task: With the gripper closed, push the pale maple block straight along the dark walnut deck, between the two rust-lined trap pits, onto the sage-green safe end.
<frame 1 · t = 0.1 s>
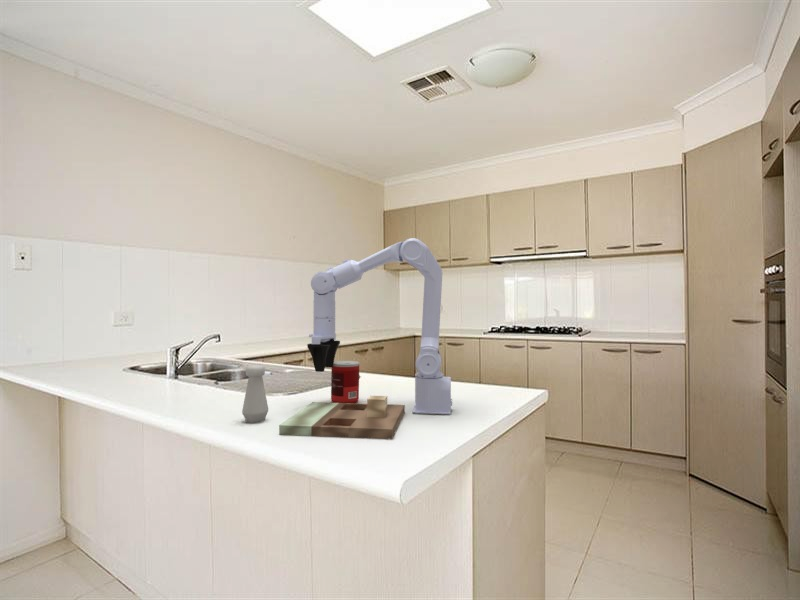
hand: (324, 369, 118), 10 cm above the table, fingers open, 7 cm apart
maple block: (377, 415, 103), point 2 cm above the table, touching trap deck
canned food: (344, 402, 125), on the table, touching gripper
trap deck: (347, 422, 103), on the table
salt shaker: (255, 421, 105), on the table
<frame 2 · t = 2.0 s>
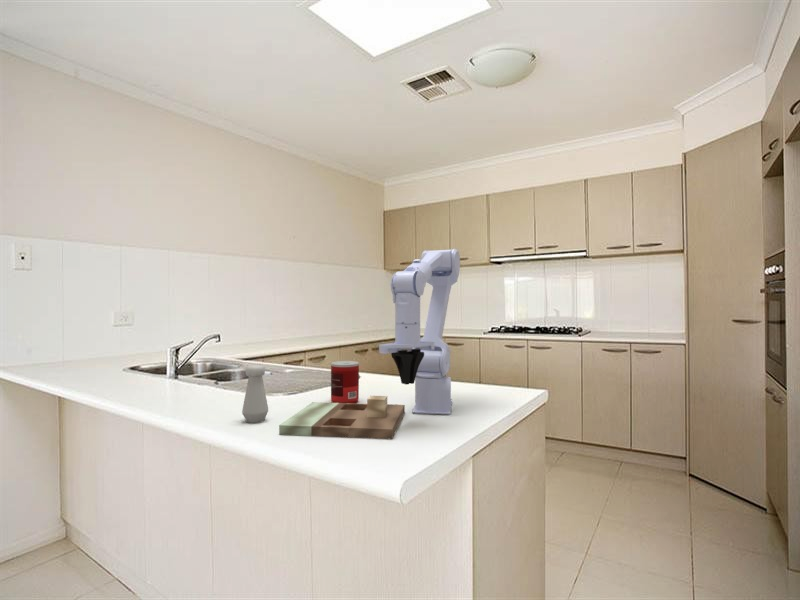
hand: (407, 383, 102), 9 cm above the table, fingers closed
canned food: (344, 402, 125), on the table
everything else where it was.
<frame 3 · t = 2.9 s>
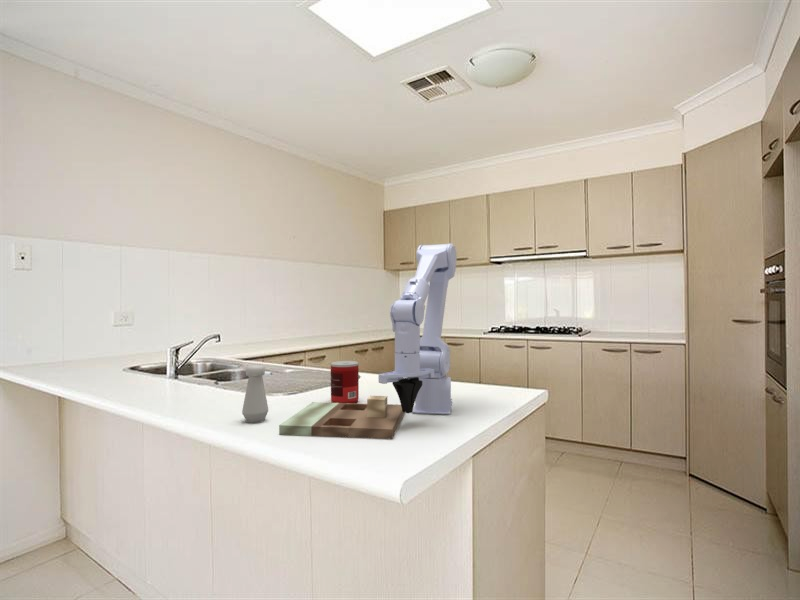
hand: (407, 412, 102), 3 cm above the table, fingers closed
nothing on the table moved.
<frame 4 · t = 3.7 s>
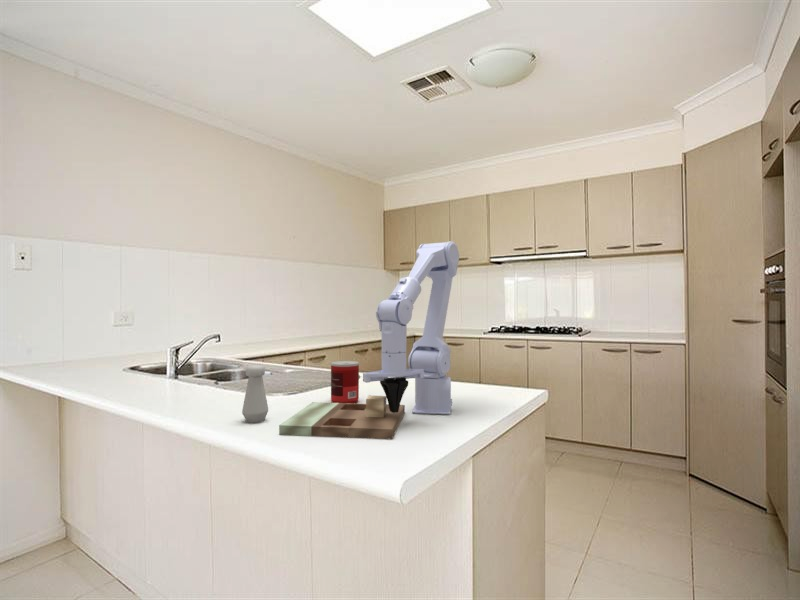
hand: (393, 411, 102), 3 cm above the table, fingers closed
maple block: (376, 414, 103), point 2 cm above the table, touching gripper
everything else where it was.
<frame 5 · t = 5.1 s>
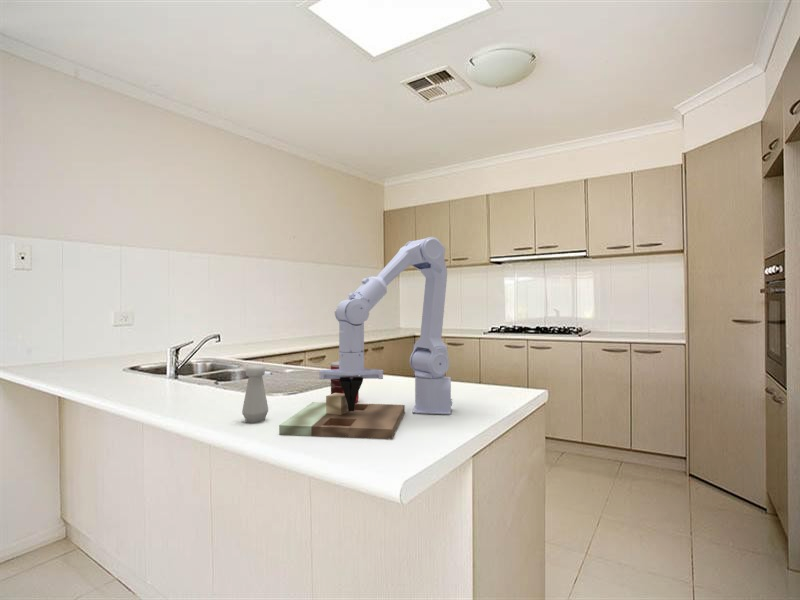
hand: (351, 410, 103), 3 cm above the table, fingers closed
maple block: (337, 412, 105), point 2 cm above the table, touching gripper
everything else where it was.
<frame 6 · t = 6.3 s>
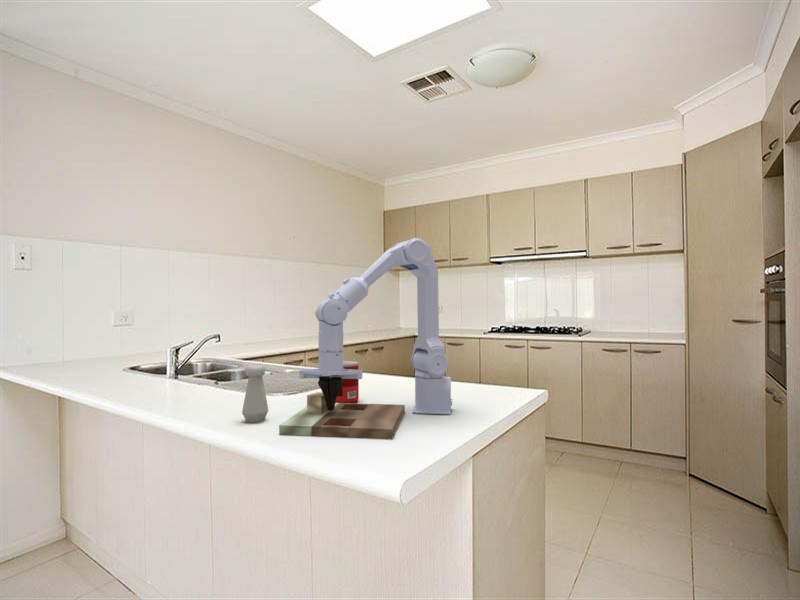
hand: (330, 409, 104), 3 cm above the table, fingers closed
maple block: (319, 411, 106), point 2 cm above the table, touching gripper, trap deck
everything else where it was.
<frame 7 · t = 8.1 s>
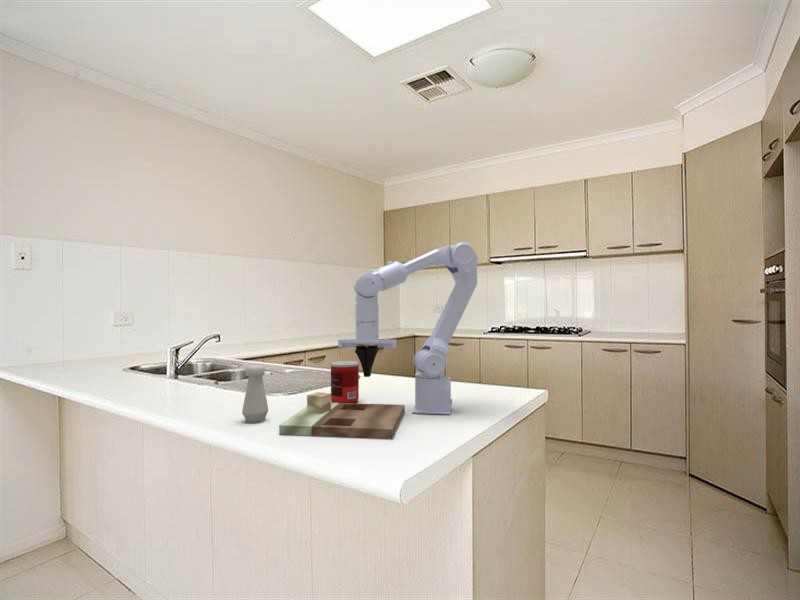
hand: (367, 376, 112), 9 cm above the table, fingers closed
maple block: (319, 411, 106), point 2 cm above the table, touching trap deck
everything else where it was.
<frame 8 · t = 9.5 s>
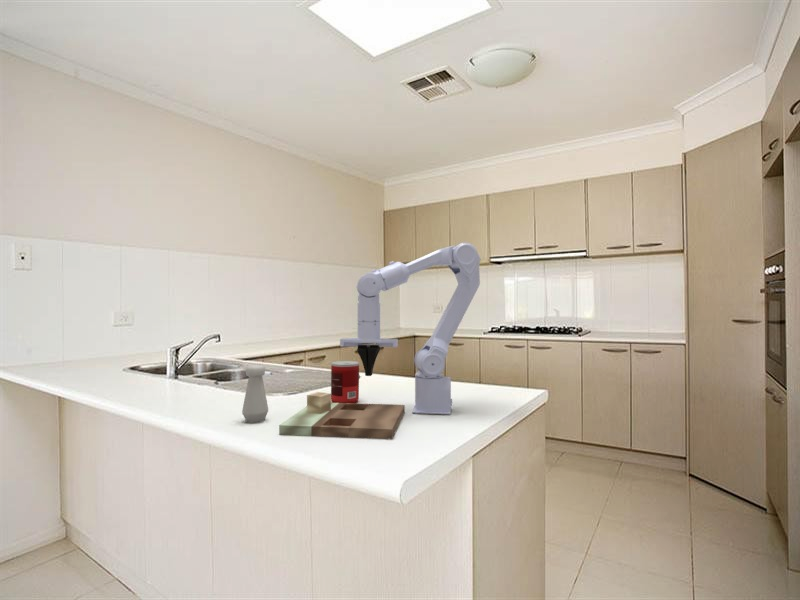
hand: (368, 375, 113), 9 cm above the table, fingers closed
nothing on the table moved.
at the end: maple block 2.0 cm from the target spot on the trap deck, point 2.0 cm above the trap deck's base; maple block tilted 0° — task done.
